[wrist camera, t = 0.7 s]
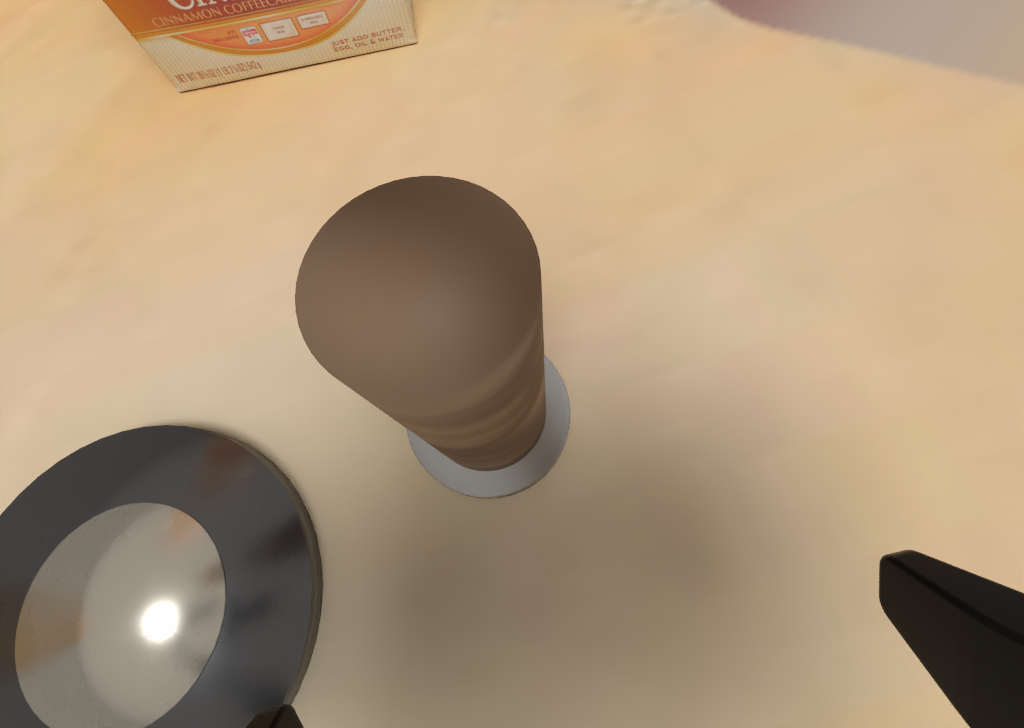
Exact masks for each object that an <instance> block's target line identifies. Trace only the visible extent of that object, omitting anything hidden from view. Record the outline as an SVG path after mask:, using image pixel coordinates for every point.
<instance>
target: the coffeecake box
mask: <svg viewBox="0 0 1024 728" xmlns="http://www.w3.org/2000/svg"><path fill="white" fill-rule="evenodd" d="M103 1H104V2H105V4H106V5H107V6H108V7H109V8H110V10H111V11H112V12H113V13H114V14H115V16H116V17H117V18H118V19H119V20H120V21H121V23H122V24H123V25H124V26H125V27H126V29H127V30H128V31H129V32H130V33H131V35H132V36H133V37H134V38H135V39H136V40H137V42H138V43H139V44H140V45H141V46H142V48H143V49H144V50H145V51H146V52H147V53H148V55H149V56H150V57H151V58H152V59H153V60H154V62H155V63H156V64H157V65H158V66H159V68H160V69H161V70H162V71H163V72H164V74H165V75H166V76H167V77H168V78H169V79H170V81H171V82H172V83H173V84H174V85H175V86H176V88H177V90H178V91H179V92H183V91H188V90H193V89H198V88H203V87H207V86H212V85H217V84H221V83H226V82H231V81H236V80H241V79H245V78H250V77H255V76H259V75H264V74H269V73H273V72H278V71H283V70H287V69H292V68H297V67H302V66H306V65H311V64H316V63H321V62H326V61H331V60H336V59H341V58H346V57H351V56H356V55H361V54H366V53H370V52H375V51H380V50H385V49H389V48H394V47H399V46H404V45H409V44H414V43H417V36H416V31H415V25H414V18H413V10H412V2H411V0H103Z"/></svg>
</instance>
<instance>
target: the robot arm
mask: <svg viewBox="0 0 1024 728" xmlns="http://www.w3.org/2000/svg"><path fill="white" fill-rule="evenodd" d="M879 599H880V603H881V606H882V608H883V610H884V612H885V614H886V615H887V617H888V618H889V620H890V621H891V622H892V624H893V625H894V626H895V628H896V629H897V630H898V632H899V633H900V634H901V636H902V637H903V639H904V640H905V641H906V643H907V644H908V645H909V647H910V648H911V649H912V651H913V652H914V653H915V655H916V656H917V657H918V659H919V660H920V662H921V663H922V664H923V666H924V667H925V668H926V670H927V671H928V672H929V674H930V675H931V676H932V678H933V679H934V680H935V682H936V683H937V685H938V686H939V687H940V689H941V690H942V691H943V693H944V694H945V695H946V697H947V698H948V699H949V701H950V702H951V703H952V705H953V706H954V707H955V709H956V710H957V711H958V713H959V714H960V715H961V716H962V718H963V719H964V720H965V722H966V723H967V724H968V725H969V727H970V728H1024V593H1022V592H1019V591H1017V590H1014V589H1011V588H1009V587H1006V586H1004V585H1001V584H999V583H996V582H994V581H991V580H988V579H986V578H983V577H981V576H978V575H976V574H973V573H971V572H968V571H965V570H963V569H960V568H958V567H955V566H953V565H950V564H948V563H945V562H942V561H940V560H937V559H935V558H932V557H930V556H927V555H925V554H922V553H919V552H916V551H913V550H904V551H900V552H896V553H891V554H887V555H885V556H883V557H882V559H881V560H880V568H879ZM245 728H304V727H303V725H302V723H301V721H300V720H299V718H298V716H297V714H296V712H295V710H294V708H293V707H292V706H291V705H289V704H288V703H287V704H285V703H284V704H280V705H276V706H272V707H268V708H265V709H262V710H261V711H259V712H258V713H257V714H256V715H255V716H254V717H253V718H252V720H251V721H250V722H249V723H248V724H247V726H246V727H245Z"/></svg>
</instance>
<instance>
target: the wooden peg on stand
mask: <svg viewBox="0 0 1024 728" xmlns="http://www.w3.org/2000/svg"><path fill="white" fill-rule="evenodd" d="M295 304H296V315H297V319H298V324H299V328H300V330H301V333H302V336H303V339H304V341H305V342H306V344H307V346H308V348H309V350H310V351H311V353H312V354H313V356H314V357H315V358H316V359H317V361H318V362H319V363H320V364H321V365H322V366H323V367H324V368H325V369H326V370H327V371H328V372H329V373H330V374H331V375H332V376H334V377H335V378H337V379H338V380H339V381H341V382H342V383H344V384H345V385H347V386H348V387H349V388H351V389H352V390H354V391H355V392H356V393H358V394H359V395H361V396H362V397H363V398H365V399H366V400H368V401H369V402H370V403H372V404H373V405H375V406H376V407H378V408H379V409H380V410H382V411H383V412H385V413H386V414H387V415H389V416H390V417H392V418H393V419H394V420H396V421H397V422H399V423H400V424H401V425H403V426H404V427H406V428H407V433H408V437H409V441H410V444H411V446H412V449H413V451H414V454H415V455H416V457H417V459H418V460H419V462H420V463H421V465H422V466H423V467H424V468H425V470H426V471H427V472H428V473H429V474H430V475H431V476H432V477H433V478H434V479H436V480H437V481H439V482H440V483H441V484H443V485H445V486H447V487H449V488H450V489H452V490H455V491H457V492H460V493H462V494H465V495H468V496H473V497H478V498H500V497H505V496H510V495H513V494H516V493H519V492H521V491H523V490H525V489H527V488H529V487H531V486H532V485H534V484H535V483H536V482H538V481H539V480H540V479H541V478H543V477H544V476H545V475H546V474H547V473H548V472H549V470H550V469H551V468H552V467H553V466H554V464H555V463H556V461H557V460H558V458H559V456H560V454H561V452H562V450H563V448H564V445H565V442H566V438H567V434H568V428H569V422H570V405H569V398H568V394H567V390H566V387H565V384H564V382H563V379H562V378H561V376H560V374H559V372H558V371H557V369H556V368H555V366H554V365H553V364H552V362H551V361H550V360H549V359H548V358H547V357H546V356H545V355H544V341H543V314H542V288H541V269H540V260H539V256H538V252H537V247H536V245H535V242H534V240H533V237H532V235H531V233H530V231H529V229H528V228H527V226H526V224H525V223H524V221H523V220H522V219H521V217H520V216H519V215H518V214H517V212H516V211H515V210H514V209H513V208H512V207H511V206H510V205H509V204H507V203H506V202H505V201H504V200H503V199H501V198H500V197H498V196H497V195H496V194H494V193H493V192H491V191H489V190H487V189H485V188H483V187H481V186H479V185H476V184H473V183H471V182H468V181H464V180H460V179H456V178H450V177H442V176H419V177H409V178H405V179H400V180H395V181H392V182H389V183H386V184H383V185H380V186H377V187H375V188H373V189H371V190H368V191H366V192H364V193H363V194H361V195H359V196H358V197H356V198H354V199H353V200H351V201H350V202H349V203H347V204H346V205H344V206H343V207H342V208H340V209H339V210H338V211H337V212H336V213H335V214H334V215H333V216H332V217H331V218H330V219H329V220H328V221H327V222H326V223H325V224H324V226H323V227H322V228H321V229H320V230H319V232H318V233H317V235H316V236H315V238H314V239H313V240H312V242H311V244H310V246H309V248H308V250H307V252H306V253H305V256H304V258H303V261H302V264H301V266H300V269H299V274H298V278H297V282H296V293H295Z"/></svg>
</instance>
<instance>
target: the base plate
mask: <svg viewBox="0 0 1024 728" xmlns="http://www.w3.org/2000/svg"><path fill="white" fill-rule="evenodd" d="M321 600H322V572H321V559H320V554H319V548H318V543H317V538H316V534H315V531H314V528H313V525H312V522H311V519H310V516H309V514H308V512H307V510H306V508H305V506H304V504H303V501H302V499H301V497H300V495H299V494H298V493H297V491H296V490H295V488H294V487H293V485H292V484H291V482H290V481H289V479H288V478H287V477H286V476H285V475H284V474H283V473H282V472H281V471H280V470H279V468H278V467H277V466H276V465H275V464H274V463H272V462H271V461H270V460H269V459H267V458H266V457H265V456H263V455H262V454H261V453H260V452H258V451H257V450H255V449H253V448H251V447H249V446H247V445H246V444H244V443H242V442H240V441H237V440H234V439H231V438H229V437H226V436H223V435H220V434H216V433H213V432H209V431H206V430H201V429H196V428H191V427H186V426H169V425H163V426H150V427H142V428H137V429H132V430H127V431H123V432H120V433H117V434H114V435H111V436H108V437H105V438H102V439H100V440H97V441H95V442H93V443H91V444H89V445H87V446H85V447H83V448H80V449H79V450H77V451H75V452H74V453H72V454H70V455H69V456H67V457H65V458H64V459H62V460H60V461H59V462H57V463H56V464H55V465H53V466H52V467H51V468H49V469H48V470H47V471H45V472H44V473H43V474H41V475H40V476H39V477H38V478H37V479H36V480H34V481H33V482H32V483H31V484H30V485H29V486H28V487H27V488H26V489H25V490H23V491H22V492H21V493H20V494H19V495H18V496H17V497H16V499H15V500H14V501H13V502H12V503H11V504H10V505H9V506H8V507H7V509H6V510H5V511H4V512H3V513H2V514H1V515H0V728H245V727H246V726H247V724H248V723H249V722H250V721H251V720H252V718H253V717H254V716H255V715H256V714H257V713H258V712H259V711H261V710H262V709H265V708H268V707H272V706H276V705H280V704H284V703H285V704H287V703H288V704H289V705H291V704H292V702H293V700H294V698H295V696H296V694H297V693H298V690H299V688H300V685H301V683H302V680H303V678H304V675H305V673H306V670H307V668H308V665H309V662H310V658H311V655H312V652H313V648H314V645H315V641H316V637H317V631H318V625H319V619H320V614H321Z"/></svg>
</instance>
